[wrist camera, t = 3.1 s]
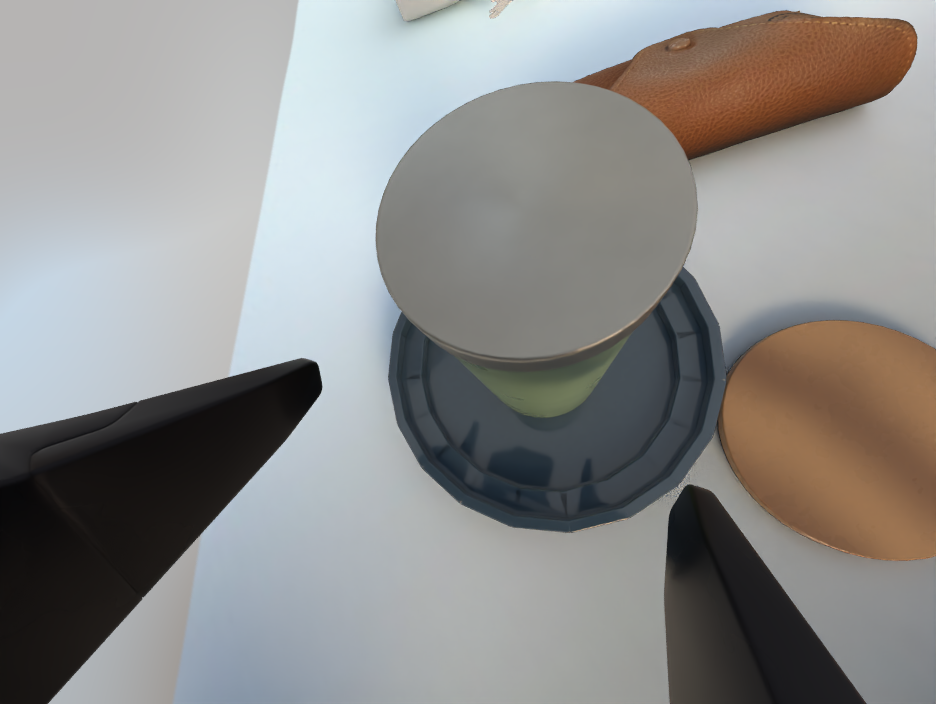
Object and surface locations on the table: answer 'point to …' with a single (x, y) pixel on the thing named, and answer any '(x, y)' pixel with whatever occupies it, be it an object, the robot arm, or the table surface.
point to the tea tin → (537, 236)
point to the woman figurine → (437, 7)
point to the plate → (569, 423)
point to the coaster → (838, 435)
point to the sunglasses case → (762, 75)
